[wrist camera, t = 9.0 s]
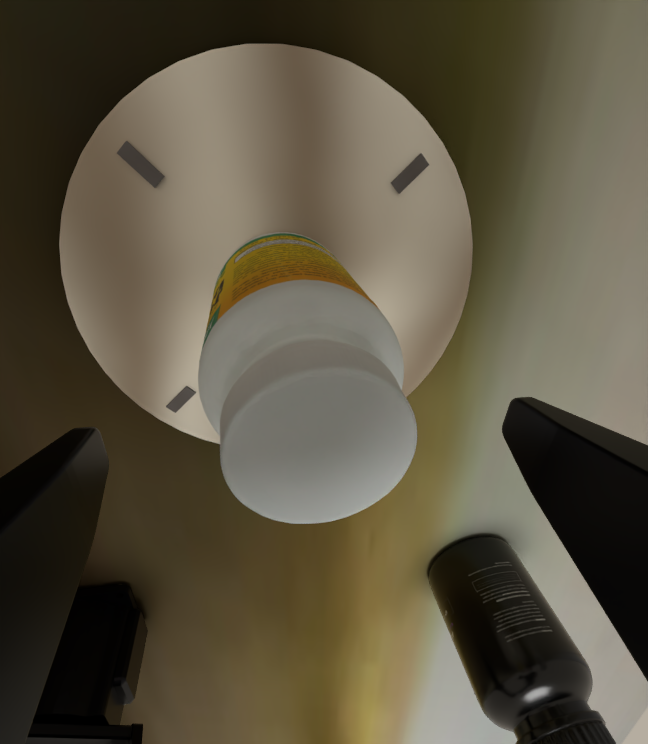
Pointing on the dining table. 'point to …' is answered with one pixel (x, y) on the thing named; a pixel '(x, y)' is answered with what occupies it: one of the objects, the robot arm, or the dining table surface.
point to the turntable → (256, 210)
